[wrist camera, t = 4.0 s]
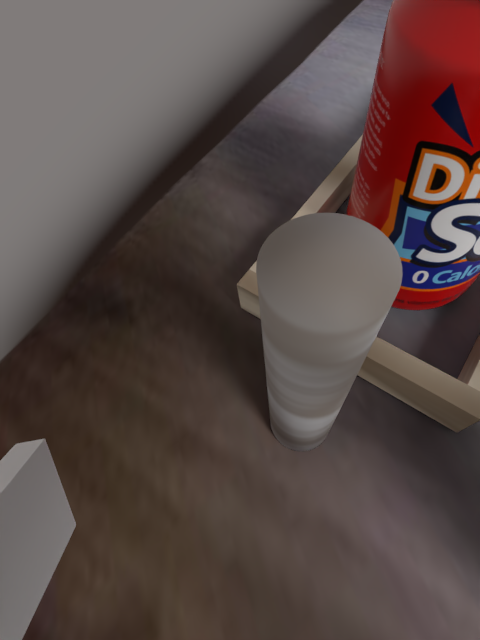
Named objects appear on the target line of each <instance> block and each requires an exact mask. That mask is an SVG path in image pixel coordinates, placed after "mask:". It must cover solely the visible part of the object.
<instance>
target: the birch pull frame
mask: <svg viewBox="0 0 480 640" xmlns="http://www.w3.org/2000/svg"><path fill="white" fill-rule="evenodd" d="M362 136H363V135H362ZM362 136H361V137H360V138H359V140H358V141H357V142H356V143H355V144H354V145H353V147H352V148H351V149H350V150H349V151H348V153H347V154H346V155H345V156H344V157H343V159H342V160H341V161H340V162H339V163H338V164H337V166H336V167H335V168H334V169H333V170H332V172H331V173H330V174H329V175H328V176H327V178H326V179H325V180H324V181H323V182H322V183H321V185H320V186H319V187H318V188H317V189H316V191H315V192H314V193H313V194H312V195H311V197H310V198H309V199H308V200H307V201H306V203H305V204H304V205H303V206H302V207H301V208H300V210H299V211H298V212H297V213H296V214H295V216H294V217H293V218H292V219H291V220H290V221H288V222H286V223H284V224H283V225H281V226H279V227H278V228H277V229H276V230H274V231H273V232H272V233H271V234H270V235H269V236H268V238H267V239H266V240H265V242H264V243H263V245H262V247H261V249H260V251H259V254H258V257H257V261H256V262H255V263H254V264H253V265H252V267H251V268H250V269H249V270H248V271H247V273H246V274H245V275H244V276H243V277H242V279H241V280H240V281H239V282H238V283H237V289H238V295H239V300H240V306H241V308H242V309H244V310H246V311H247V312H249V313H251V314H253V315H254V316H256V317H258V318H259V319H261V327H262V338H263V348H264V359H265V370H266V380H267V391H268V402H269V412H270V423H271V428H272V431H273V434H274V435H275V437H276V439H277V440H278V441H279V442H280V443H281V444H282V445H283V446H285V447H287V448H289V449H291V450H294V451H309V450H312V449H315V448H316V447H318V446H319V445H320V444H322V442H323V441H324V440H325V439H326V437H327V435H328V433H329V431H330V429H331V427H332V425H333V423H334V421H335V419H336V417H337V415H338V413H339V411H340V409H341V407H342V405H343V403H344V401H345V399H346V397H347V395H348V393H349V390H350V388H351V386H352V384H353V382H354V380H355V378H356V376H357V375H358V376H360V377H361V378H363V379H365V380H367V381H368V382H370V383H372V384H374V385H375V386H377V387H379V388H380V389H382V390H384V391H386V392H387V393H389V394H391V395H393V396H394V397H396V398H398V399H399V400H401V401H403V402H405V403H406V404H408V405H410V406H412V407H413V408H415V409H417V410H418V411H420V412H422V413H424V414H425V415H427V416H429V417H431V418H432V419H434V420H436V421H437V422H439V423H441V424H443V425H444V426H446V427H448V428H450V429H451V430H453V431H455V432H456V433H458V432H459V431H461V430H463V429H465V428H467V427H469V426H470V425H472V424H474V423H476V422H478V421H479V420H480V334H479V336H478V338H477V340H476V342H475V344H474V346H473V348H472V350H471V352H470V354H469V356H468V358H467V360H466V362H465V364H464V366H463V368H462V370H461V372H460V374H459V376H458V379H456V378H454V377H452V376H450V375H448V374H446V373H444V372H443V371H441V370H439V369H437V368H435V367H433V366H431V365H429V364H427V363H426V362H424V361H422V360H420V359H418V358H416V357H414V356H412V355H410V354H408V353H407V352H405V351H403V350H401V349H399V348H397V347H395V346H393V345H391V344H390V343H388V342H386V341H384V340H382V339H380V338H378V337H376V336H377V334H378V332H379V330H380V328H381V326H382V324H383V322H384V320H385V318H386V316H387V314H388V312H389V310H390V308H391V306H392V304H393V302H394V300H395V298H396V296H397V294H398V292H399V289H400V286H401V283H402V275H403V274H402V264H401V259H400V257H399V254H398V252H397V250H396V248H395V246H394V245H393V243H392V242H391V241H390V240H389V238H388V237H387V236H386V235H385V234H384V233H383V232H381V231H380V230H379V229H377V228H376V227H375V226H373V225H371V224H370V223H368V222H366V221H364V220H361V219H359V218H356V217H353V216H349V215H345V214H339V213H335V212H336V211H337V210H338V208H339V207H340V206H341V205H342V203H343V202H344V201H345V200H346V198H347V197H348V196H349V194H350V193H351V189H352V184H353V179H354V175H355V170H356V165H357V160H358V155H359V151H360V146H361V141H362Z"/></svg>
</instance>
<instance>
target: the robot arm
mask: <svg viewBox="0 0 480 640" xmlns="http://www.w3.org/2000/svg"><path fill="white" fill-rule="evenodd" d="M75 527H76V523H75V520H74V517H73V514H72V512H71V509H70V506H69V503H68V501H67V498H66V495H65V492H64V490H63V487H62V484H61V481H60V479H59V476H58V473H57V470H56V468H55V465H54V462H53V459H52V456H51V454H50V451H49V448H48V445H47V443H46V440H45V439H40V440H34V441H29V442H24V443H18V444H15V445H14V446H13V448H12V449H11V450H10V451H9V452H8V453H7V454H6V455H5V456H4V457H3V458H2V460H1V461H0V640H22V638H23V636H24V634H25V632H26V630H27V628H28V626H29V624H30V621H31V619H32V617H33V615H34V613H35V611H36V609H37V607H38V605H39V602H40V600H41V598H42V596H43V594H44V592H45V590H46V588H47V586H48V584H49V581H50V579H51V577H52V575H53V573H54V571H55V569H56V567H57V565H58V562H59V560H60V558H61V556H62V554H63V552H64V550H65V548H66V546H67V544H68V541H69V539H70V537H71V535H72V533H73V531H74V529H75Z"/></svg>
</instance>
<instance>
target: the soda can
mask: <svg viewBox="0 0 480 640" xmlns="http://www.w3.org/2000/svg"><path fill="white" fill-rule="evenodd" d="M346 215H349V216H353V217H356V218H359V219H361V220H364V221H366V222H368V223H370V224H371V225H373V226H375V227H376V228H377V229H379V230H380V231H381V232H383V233H384V234H385V235H386V236H387V237H388V238H389V240H390V241H391V242H392V243H393V245H394V246H395V248H396V250H397V252H398V254H399V257H400V259H401V264H402V274H403V275H402V283H401V286H400V289H399V292H398V294H397V296H396V298H395V300H394V302H393V304H392V306H391V307H394V308H398V309H405V310H426V309H433V308H437V307H440V306H443V305H446V304H448V303H450V302H452V301H454V300H455V299H457V298H458V297H459V296H461V295H462V294H463V293H464V292H465V291H466V290H467V289H468V288H469V287H470V286H471V284H472V283H473V282H474V281H475V279H476V278H477V277H478V276H479V274H480V0H393V2H392V5H391V8H390V10H389V14H388V18H387V22H386V26H385V31H384V35H383V40H382V45H381V50H380V55H379V59H378V64H377V69H376V74H375V79H374V83H373V88H372V93H371V98H370V103H369V107H368V112H367V117H366V122H365V127H364V131H363V136H362V141H361V146H360V151H359V155H358V160H357V165H356V170H355V175H354V179H353V184H352V189H351V194H350V199H349V203H348V208H347V213H346Z"/></svg>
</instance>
